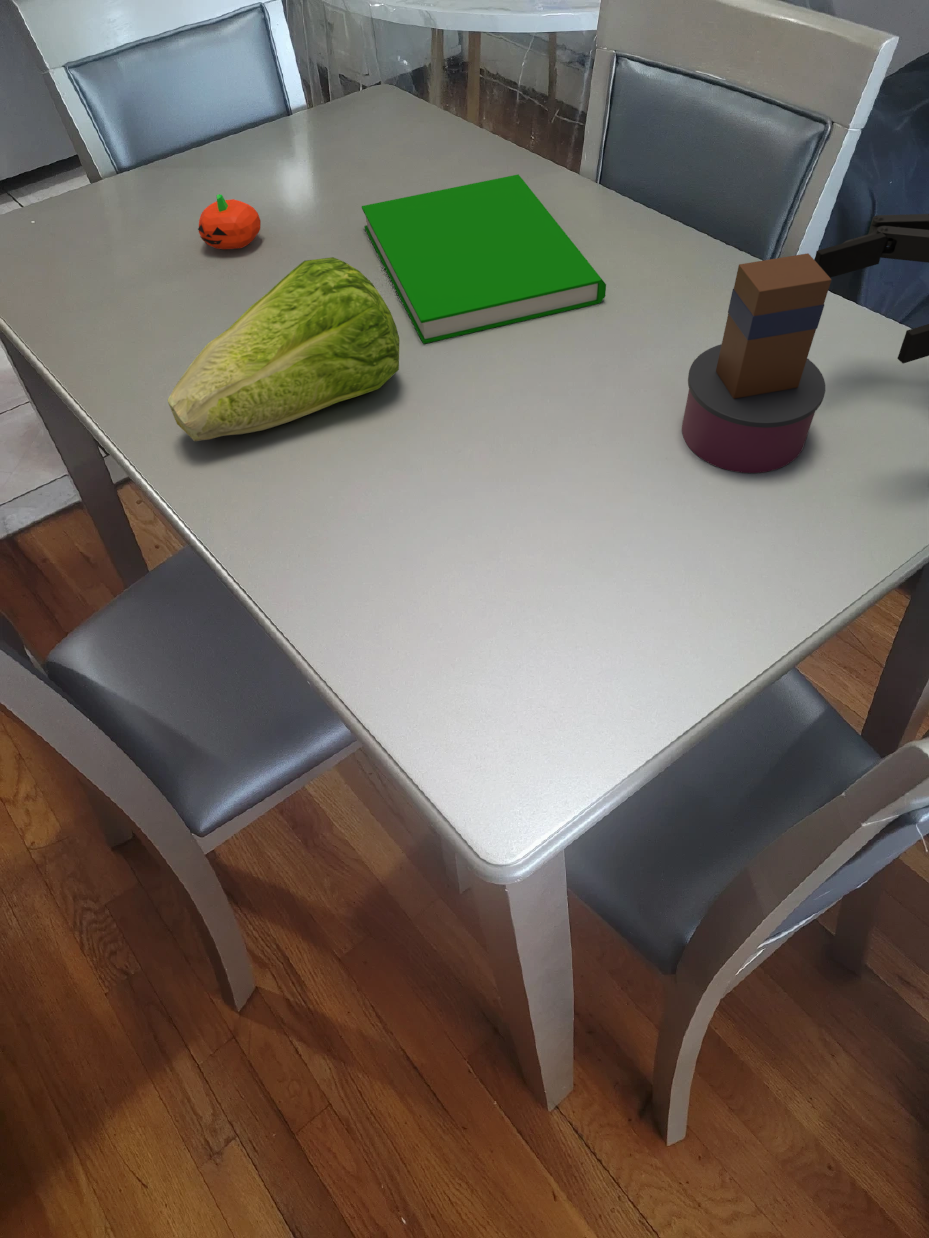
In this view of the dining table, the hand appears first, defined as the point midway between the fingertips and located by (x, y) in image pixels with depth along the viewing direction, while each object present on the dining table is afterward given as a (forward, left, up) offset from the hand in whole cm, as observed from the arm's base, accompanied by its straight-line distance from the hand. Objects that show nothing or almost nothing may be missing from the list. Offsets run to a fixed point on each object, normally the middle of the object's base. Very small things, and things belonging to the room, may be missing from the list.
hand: (857, 305), depth 75 cm
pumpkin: (+75, +21, -15) cm, 79 cm away
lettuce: (+42, +35, -15) cm, 56 cm away
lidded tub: (+5, +5, -14) cm, 16 cm away
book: (+48, +2, -15) cm, 50 cm away
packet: (+5, +5, -8) cm, 11 cm away
